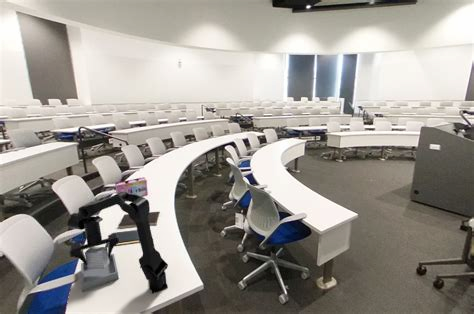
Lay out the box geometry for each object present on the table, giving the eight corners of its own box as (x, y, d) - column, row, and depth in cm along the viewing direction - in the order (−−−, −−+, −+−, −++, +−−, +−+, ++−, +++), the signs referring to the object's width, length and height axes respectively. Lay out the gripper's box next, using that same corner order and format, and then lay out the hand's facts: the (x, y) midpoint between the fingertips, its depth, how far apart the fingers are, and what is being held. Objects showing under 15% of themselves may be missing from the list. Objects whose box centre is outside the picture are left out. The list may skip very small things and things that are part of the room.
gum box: (147, 191, 212) (145, 176, 209) (149, 194, 206) (148, 179, 203) (116, 198, 199) (114, 182, 196) (118, 201, 193) (116, 185, 189)
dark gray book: (146, 227, 152) (142, 241, 137) (146, 230, 152) (142, 244, 138) (111, 231, 148) (103, 245, 133) (111, 234, 148) (103, 248, 134)
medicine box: (110, 263, 114) (107, 246, 112) (104, 269, 110) (101, 252, 108) (93, 262, 115) (90, 246, 113) (87, 269, 110) (84, 252, 108)
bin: (114, 259, 124) (113, 253, 123) (118, 278, 111) (117, 272, 110) (82, 269, 117) (81, 263, 116) (82, 291, 103) (81, 284, 103)
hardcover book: (157, 225, 158) (156, 222, 157) (118, 229, 154) (118, 225, 153) (159, 214, 173) (159, 211, 172) (125, 217, 169) (124, 214, 168)
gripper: (114, 217, 120) (118, 245, 123) (68, 228, 110) (74, 258, 114) (116, 227, 110) (121, 257, 114) (66, 240, 101) (73, 272, 105)
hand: (98, 261), depth 112 cm, fingers closed on medicine box, 9 cm apart
